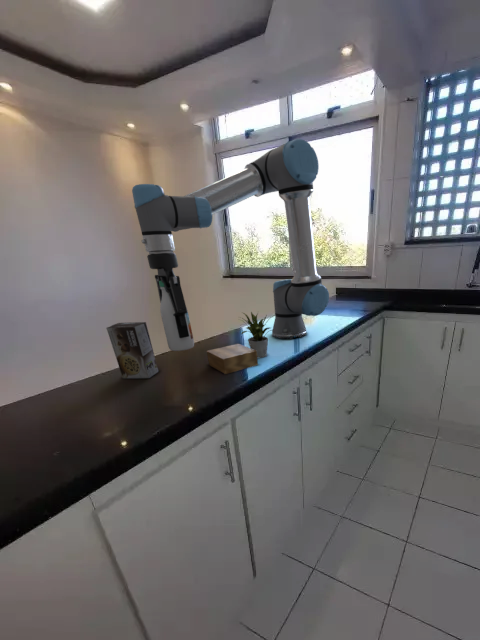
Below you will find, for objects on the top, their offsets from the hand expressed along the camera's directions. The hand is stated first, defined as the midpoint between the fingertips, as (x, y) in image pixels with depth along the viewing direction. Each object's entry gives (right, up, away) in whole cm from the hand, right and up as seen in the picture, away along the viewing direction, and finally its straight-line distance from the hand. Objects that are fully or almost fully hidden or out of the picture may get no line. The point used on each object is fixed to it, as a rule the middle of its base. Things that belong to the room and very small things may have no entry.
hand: (179, 334), depth 95 cm
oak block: (+15, -8, +9) cm, 19 cm away
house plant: (+21, -4, +17) cm, 28 cm away
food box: (-14, -12, +3) cm, 19 cm away
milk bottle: (0, -4, +2) cm, 4 cm away
